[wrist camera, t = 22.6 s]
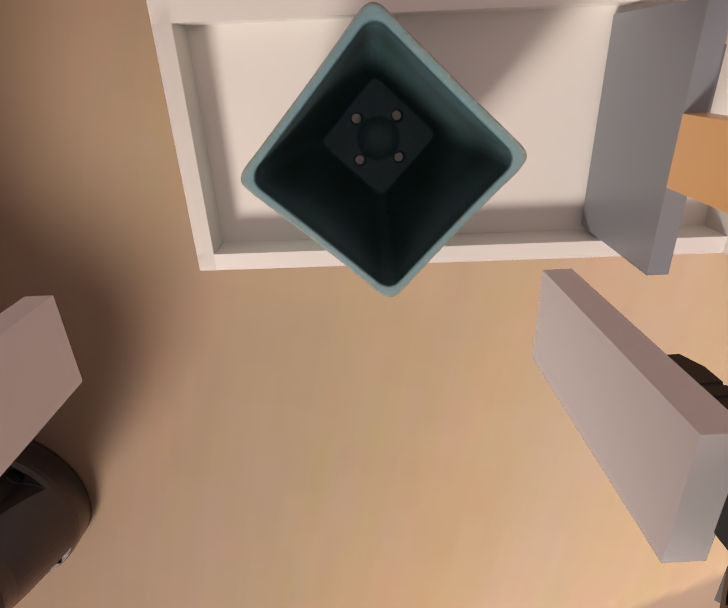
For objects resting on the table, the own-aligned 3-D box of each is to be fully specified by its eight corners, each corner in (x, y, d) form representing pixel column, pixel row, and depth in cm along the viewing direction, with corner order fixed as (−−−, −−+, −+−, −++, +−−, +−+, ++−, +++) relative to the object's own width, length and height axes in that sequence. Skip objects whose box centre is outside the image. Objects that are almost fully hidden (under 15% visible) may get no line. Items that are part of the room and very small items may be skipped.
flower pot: (489, 128, 28) (534, 157, 20) (386, 240, 31) (390, 303, 23) (372, 12, 26) (371, -7, 18) (273, 146, 29) (234, 181, 21)
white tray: (214, 253, 33) (195, 277, 29) (168, 6, 27) (137, -3, 23) (708, 235, 32) (751, 257, 28) (779, -23, 26) (846, -37, 22)
